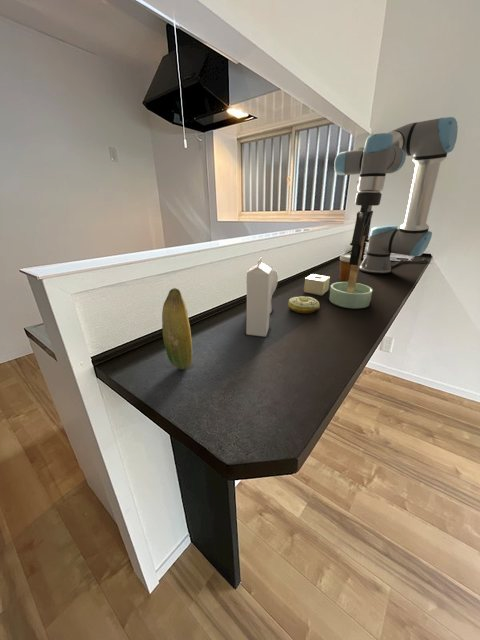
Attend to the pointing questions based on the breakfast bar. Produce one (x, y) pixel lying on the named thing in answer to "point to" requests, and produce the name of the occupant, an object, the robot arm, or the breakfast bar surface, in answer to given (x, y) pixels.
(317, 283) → the stand
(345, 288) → the bowl
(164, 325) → the vegetable
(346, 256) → the disposable coffee cup
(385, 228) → the robot arm
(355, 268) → the stirring stick
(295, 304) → the decorated donut
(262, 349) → the breakfast bar surface
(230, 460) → the breakfast bar surface
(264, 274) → the milk
